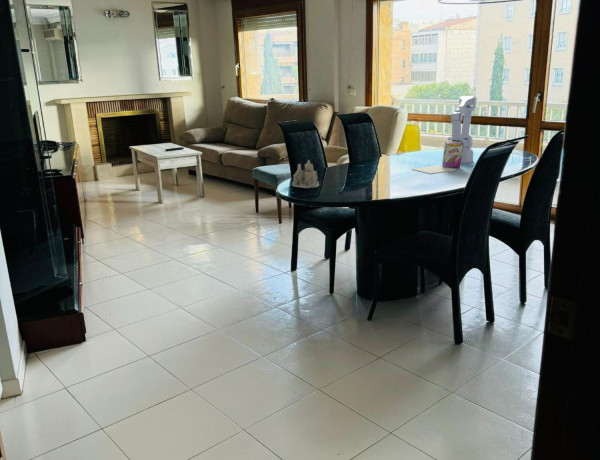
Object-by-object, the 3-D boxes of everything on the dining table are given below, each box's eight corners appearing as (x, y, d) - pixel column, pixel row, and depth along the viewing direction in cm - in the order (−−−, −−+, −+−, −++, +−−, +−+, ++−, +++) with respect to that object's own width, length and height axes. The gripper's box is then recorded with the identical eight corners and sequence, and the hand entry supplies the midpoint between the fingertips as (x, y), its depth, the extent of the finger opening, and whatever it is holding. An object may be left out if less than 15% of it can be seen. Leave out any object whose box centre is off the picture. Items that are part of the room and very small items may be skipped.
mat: (437, 166, 363) (437, 165, 363) (456, 170, 345) (456, 169, 345) (411, 169, 356) (411, 168, 356) (430, 174, 338) (430, 173, 338)
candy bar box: (442, 167, 354) (445, 143, 345) (441, 164, 358) (444, 140, 349) (460, 167, 353) (463, 144, 344) (459, 164, 357) (462, 141, 348)
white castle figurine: (292, 183, 336) (291, 159, 331) (318, 182, 336) (318, 158, 330) (291, 190, 321) (290, 165, 316) (319, 189, 321) (319, 164, 316)
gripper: (444, 131, 355) (443, 151, 359) (458, 132, 342) (458, 154, 346) (453, 130, 358) (452, 150, 362) (467, 131, 345) (467, 153, 349)
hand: (455, 152), depth 354 cm, fingers closed
